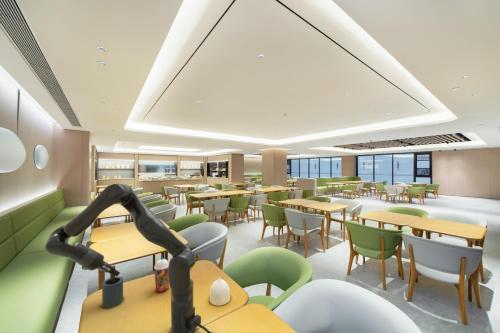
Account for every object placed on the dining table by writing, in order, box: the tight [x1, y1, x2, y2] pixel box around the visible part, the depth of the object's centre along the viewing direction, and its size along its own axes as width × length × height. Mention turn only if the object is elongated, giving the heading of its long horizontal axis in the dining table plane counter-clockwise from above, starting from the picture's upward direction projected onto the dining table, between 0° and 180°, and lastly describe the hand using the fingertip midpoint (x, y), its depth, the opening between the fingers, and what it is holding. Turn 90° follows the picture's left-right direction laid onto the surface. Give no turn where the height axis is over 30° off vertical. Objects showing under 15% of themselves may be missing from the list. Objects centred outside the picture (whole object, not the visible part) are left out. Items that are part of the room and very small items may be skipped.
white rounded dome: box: [209, 276, 231, 306], centre depth 113 cm, size 11×11×12 cm
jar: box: [101, 276, 124, 309], centre depth 110 cm, size 9×9×11 cm
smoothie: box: [153, 254, 170, 293], centre depth 121 cm, size 8×8×20 cm
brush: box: [109, 264, 116, 284], centre depth 110 cm, size 5×5×15 cm
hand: (117, 273), depth 111 cm, fingers closed on brush
